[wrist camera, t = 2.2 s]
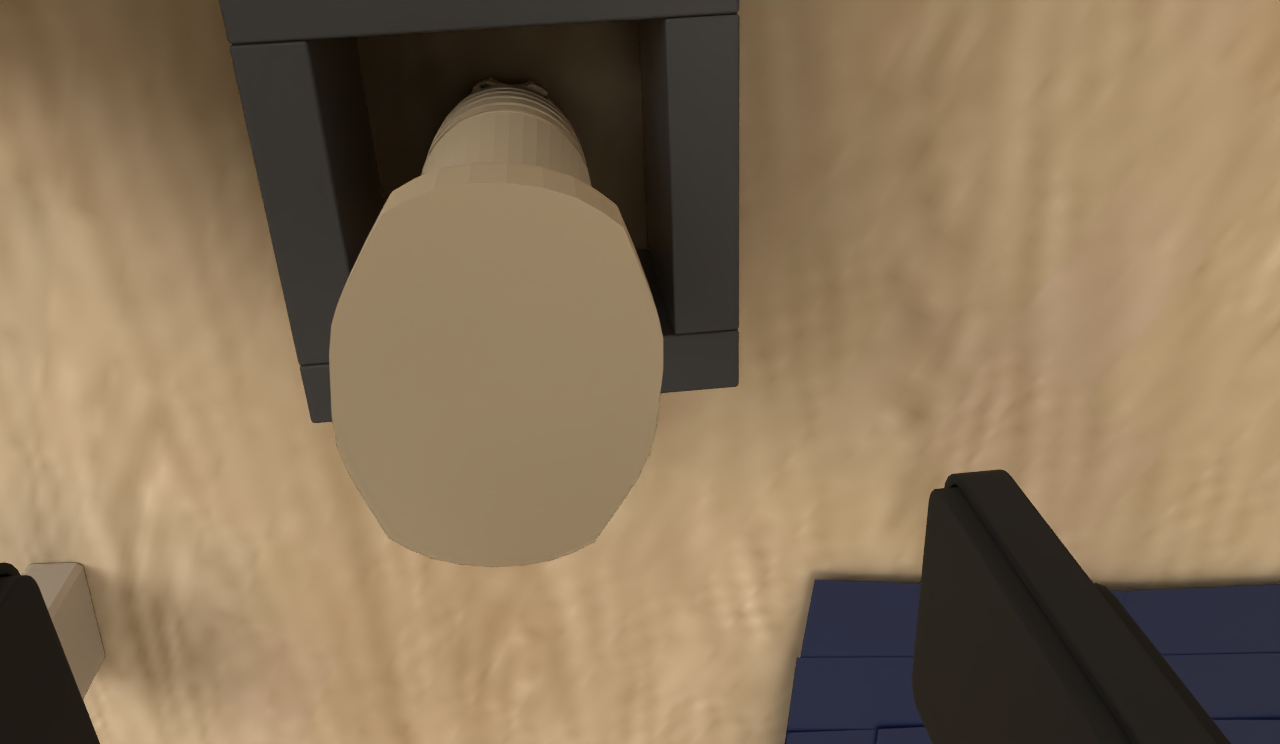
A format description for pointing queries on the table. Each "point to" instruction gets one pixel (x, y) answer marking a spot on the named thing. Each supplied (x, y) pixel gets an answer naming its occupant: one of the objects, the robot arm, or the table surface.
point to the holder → (349, 183)
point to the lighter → (71, 617)
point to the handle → (497, 344)
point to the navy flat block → (1171, 618)
